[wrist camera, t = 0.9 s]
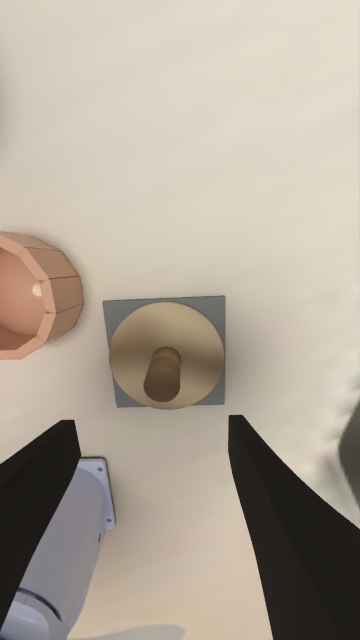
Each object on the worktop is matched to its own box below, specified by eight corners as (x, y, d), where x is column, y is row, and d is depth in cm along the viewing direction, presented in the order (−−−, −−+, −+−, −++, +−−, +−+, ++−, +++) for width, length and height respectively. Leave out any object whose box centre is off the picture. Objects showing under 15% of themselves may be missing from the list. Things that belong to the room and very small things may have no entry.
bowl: (89, 338, 19) (64, 357, 15) (-6, 342, 19) (-54, 361, 15) (72, 234, 17) (39, 225, 13) (-34, 240, 17) (-99, 233, 13)
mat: (223, 401, 20) (224, 404, 20) (118, 404, 20) (117, 407, 20) (224, 295, 18) (225, 296, 17) (104, 300, 18) (102, 301, 17)
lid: (222, 402, 20) (234, 444, 15) (118, 405, 20) (99, 448, 15) (222, 298, 17) (237, 311, 13) (105, 303, 18) (77, 318, 13)
